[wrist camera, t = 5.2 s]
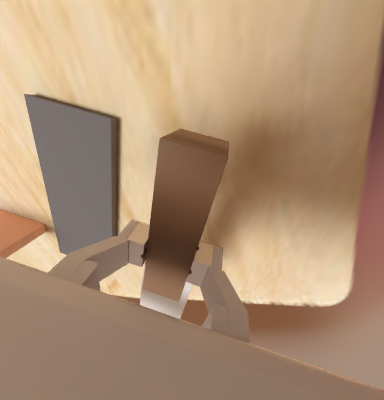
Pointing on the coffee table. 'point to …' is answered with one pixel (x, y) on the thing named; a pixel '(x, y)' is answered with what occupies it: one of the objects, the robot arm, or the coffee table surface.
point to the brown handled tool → (179, 215)
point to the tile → (17, 232)
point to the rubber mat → (76, 170)
